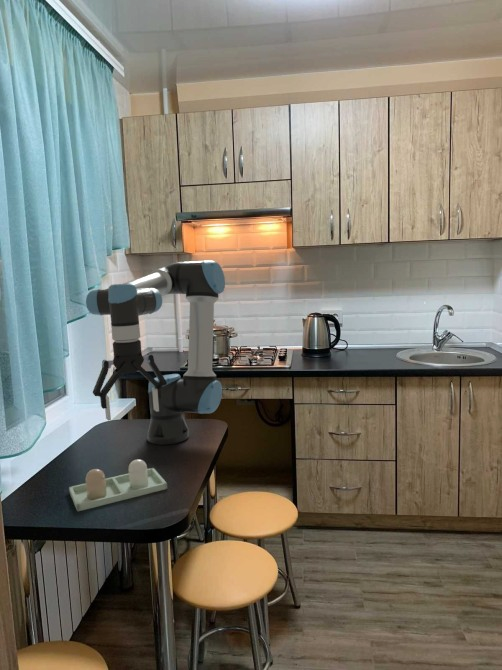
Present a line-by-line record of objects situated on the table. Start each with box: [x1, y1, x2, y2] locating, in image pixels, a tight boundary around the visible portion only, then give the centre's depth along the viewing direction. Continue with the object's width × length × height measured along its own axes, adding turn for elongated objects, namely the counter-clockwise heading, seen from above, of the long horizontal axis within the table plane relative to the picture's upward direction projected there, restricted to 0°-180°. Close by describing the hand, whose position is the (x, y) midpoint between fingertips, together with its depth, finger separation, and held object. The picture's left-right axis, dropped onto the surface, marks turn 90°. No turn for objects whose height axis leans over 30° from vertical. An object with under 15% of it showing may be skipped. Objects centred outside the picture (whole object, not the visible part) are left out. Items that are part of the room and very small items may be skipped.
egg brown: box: [84, 468, 107, 500], centre depth 142 cm, size 5×5×8 cm
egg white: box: [127, 458, 148, 489], centre depth 147 cm, size 5×5×8 cm
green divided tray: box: [68, 467, 168, 512], centre depth 145 cm, size 24×13×2 cm, turn 118°
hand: (132, 414), depth 145 cm, fingers open, 13 cm apart
